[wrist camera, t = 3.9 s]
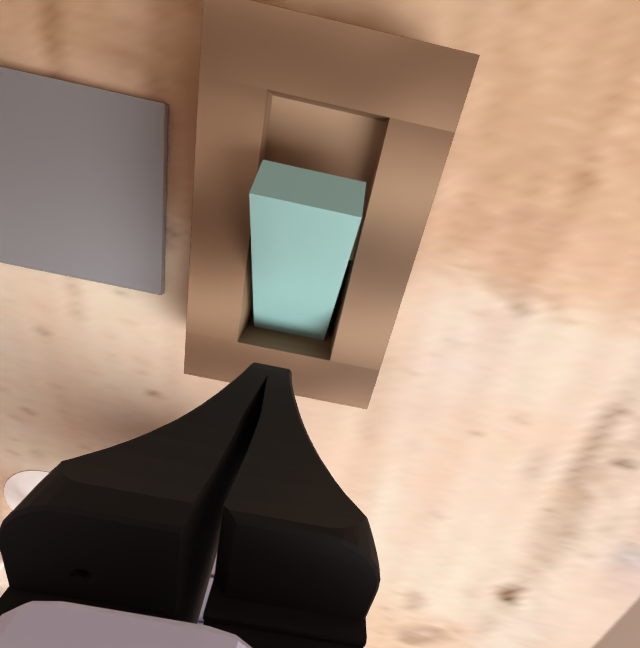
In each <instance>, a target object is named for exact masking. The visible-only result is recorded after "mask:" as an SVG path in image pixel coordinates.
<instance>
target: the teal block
mask: <svg viewBox="0 0 640 648" xmlns="http://www.w3.org/2000/svg"><path fill="white" fill-rule="evenodd" d="M365 189H366V182H362V181H358V180H353V179H349V178H344V177H340V176H335V175H331V174H326V173H322V172H317V171H313V170H308V169H303V168H299V167H294V166H290V165H285V164H281V163H276V162H272V161H267V160H262V163H261V165H260V168H259V170H258V173H257V175H256V178H255V180H254V183H253V185H252V188H251V190H250V193H249V199H250V226H251V254H252V281H253V308H254V326H255V327H260V328H265V329H270V330H274V331H279V332H284V333H289V334H294V335H299V336H304V337H309V338H314V339H319V340H324V338H325V335H326V332H327V329H328V325H329V322H330V319H331V316H332V313H333V309H334V306H335V303H336V300H337V296H338V293H339V290H340V287H341V284H342V280H343V277H344V274H345V271H346V267H347V264H348V261H349V258H350V254H351V251H352V248H353V245H354V242H355V238H356V235H357V232H358V229H359V225H360V222H361V219H362V213H363V205H364V197H365Z"/></svg>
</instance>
